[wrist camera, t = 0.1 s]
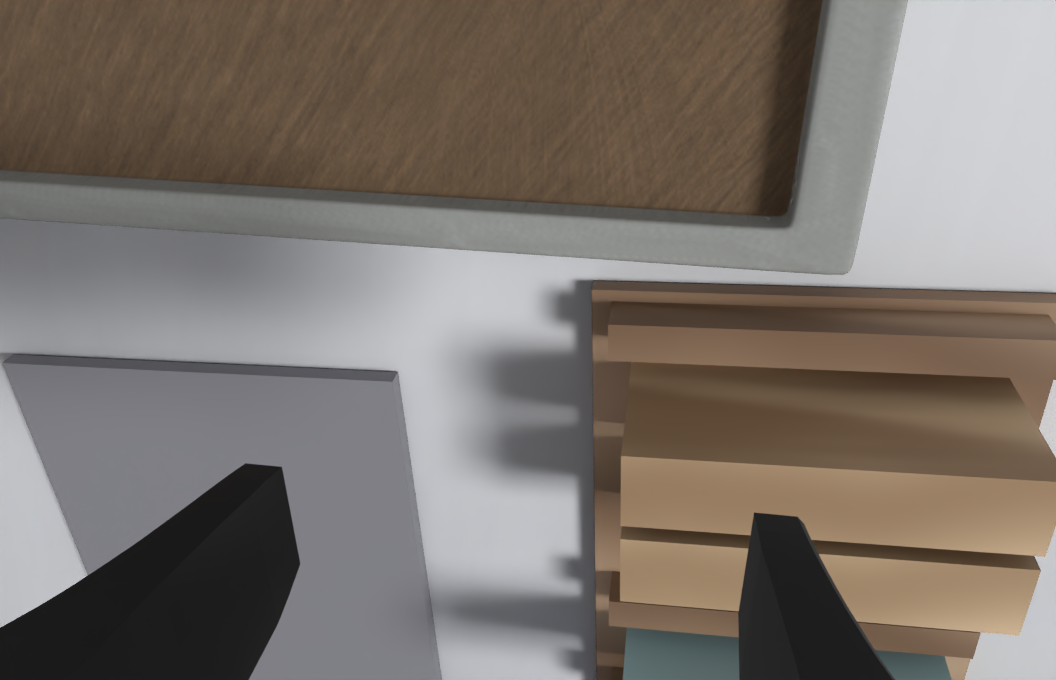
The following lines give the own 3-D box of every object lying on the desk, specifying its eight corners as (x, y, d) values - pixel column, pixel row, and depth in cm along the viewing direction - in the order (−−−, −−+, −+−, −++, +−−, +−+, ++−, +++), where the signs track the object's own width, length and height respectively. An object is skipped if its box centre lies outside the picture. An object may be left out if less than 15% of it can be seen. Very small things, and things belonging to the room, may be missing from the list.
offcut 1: (990, 443, 22) (1045, 556, 19) (630, 424, 24) (620, 526, 20) (1008, 376, 21) (1070, 482, 18) (631, 360, 23) (620, 456, 19)
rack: (942, 726, 28) (955, 775, 27) (598, 691, 30) (593, 735, 28) (1067, 293, 20) (1097, 329, 19) (593, 280, 22) (586, 312, 21)
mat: (445, 703, 31) (441, 715, 31) (138, 670, 33) (131, 681, 33) (397, 372, 24) (392, 381, 24) (13, 354, 26) (2, 363, 26)
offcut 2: (971, 516, 23) (1018, 635, 20) (629, 494, 25) (619, 601, 21) (987, 456, 22) (1040, 570, 19) (630, 436, 24) (620, 538, 20)
